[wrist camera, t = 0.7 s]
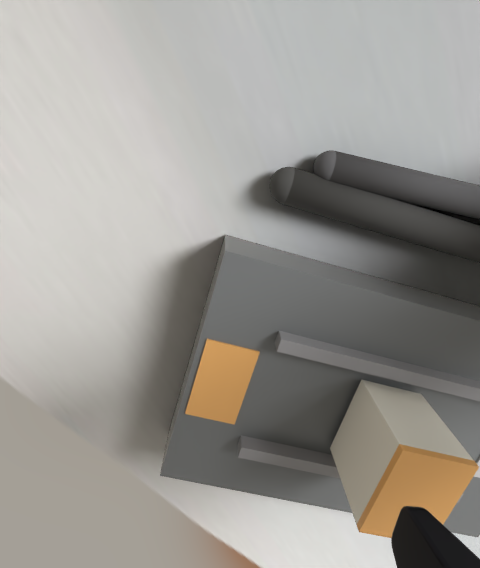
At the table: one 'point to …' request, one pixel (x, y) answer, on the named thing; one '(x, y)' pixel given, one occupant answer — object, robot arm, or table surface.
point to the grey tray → (314, 374)
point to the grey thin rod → (400, 183)
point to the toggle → (397, 458)
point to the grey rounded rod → (376, 213)
